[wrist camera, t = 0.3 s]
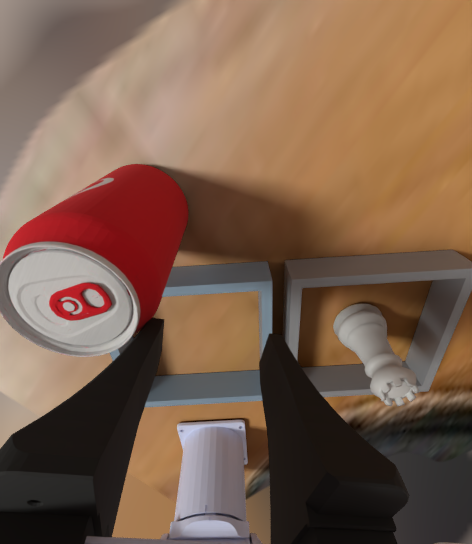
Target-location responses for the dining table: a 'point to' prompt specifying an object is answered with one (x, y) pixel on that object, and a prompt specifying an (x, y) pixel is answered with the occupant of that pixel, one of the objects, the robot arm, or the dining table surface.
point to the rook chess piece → (375, 352)
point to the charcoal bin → (372, 270)
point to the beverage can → (94, 263)
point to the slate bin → (221, 383)
